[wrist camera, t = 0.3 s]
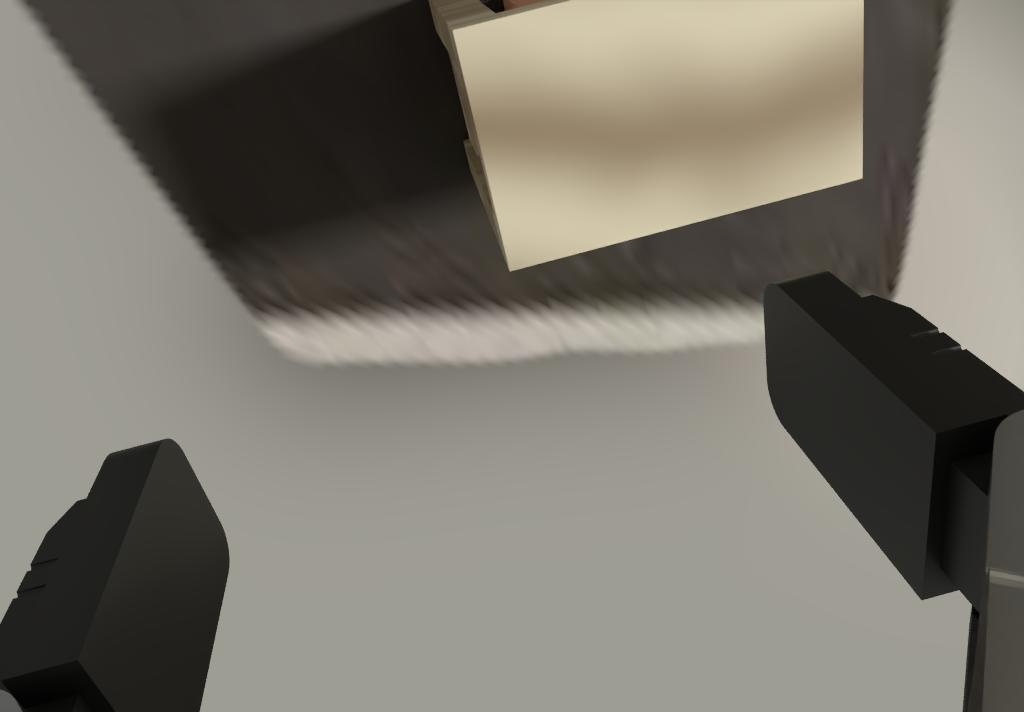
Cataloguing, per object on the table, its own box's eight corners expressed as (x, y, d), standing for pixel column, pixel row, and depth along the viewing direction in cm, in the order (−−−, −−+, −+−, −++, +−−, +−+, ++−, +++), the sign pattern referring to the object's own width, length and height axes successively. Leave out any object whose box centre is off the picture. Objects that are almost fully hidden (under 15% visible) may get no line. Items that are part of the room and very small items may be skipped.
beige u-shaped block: (426, -6, 33) (452, 30, 22) (709, -77, 33) (864, -75, 23) (470, 170, 36) (509, 271, 26) (723, 104, 37) (862, 178, 26)
